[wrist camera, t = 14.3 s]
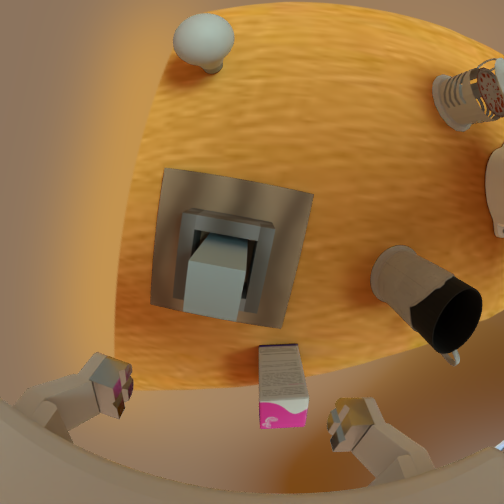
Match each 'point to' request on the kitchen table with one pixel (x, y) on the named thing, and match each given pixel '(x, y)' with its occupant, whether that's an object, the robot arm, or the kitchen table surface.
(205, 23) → the lightbulb
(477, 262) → the kitchen table surface
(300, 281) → the kitchen table surface
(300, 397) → the supplement box
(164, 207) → the socket
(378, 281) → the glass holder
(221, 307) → the peg
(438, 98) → the french press
